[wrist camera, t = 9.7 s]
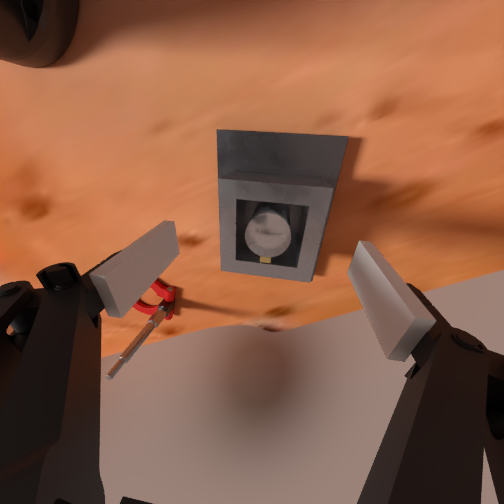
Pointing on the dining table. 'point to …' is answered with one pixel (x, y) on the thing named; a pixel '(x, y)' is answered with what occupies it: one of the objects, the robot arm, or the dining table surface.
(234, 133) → the shaft stand
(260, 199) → the collar
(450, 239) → the dining table surface
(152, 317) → the tow hook
